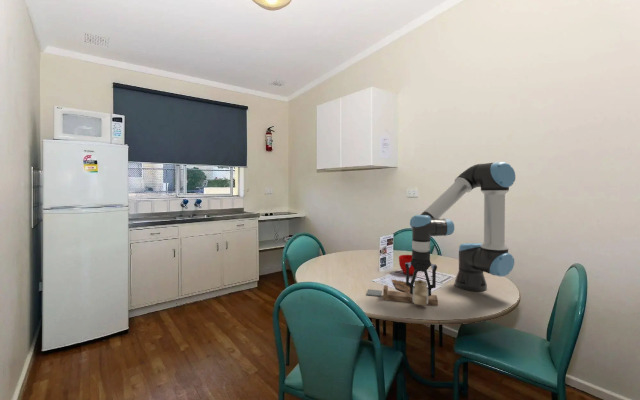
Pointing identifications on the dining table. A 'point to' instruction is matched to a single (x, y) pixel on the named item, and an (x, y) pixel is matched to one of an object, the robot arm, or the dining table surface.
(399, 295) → the plank
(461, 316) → the dining table surface
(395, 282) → the wooden fragment
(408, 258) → the ceramic cup
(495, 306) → the dining table surface
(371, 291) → the mat
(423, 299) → the cream tall block
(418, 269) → the robot arm
